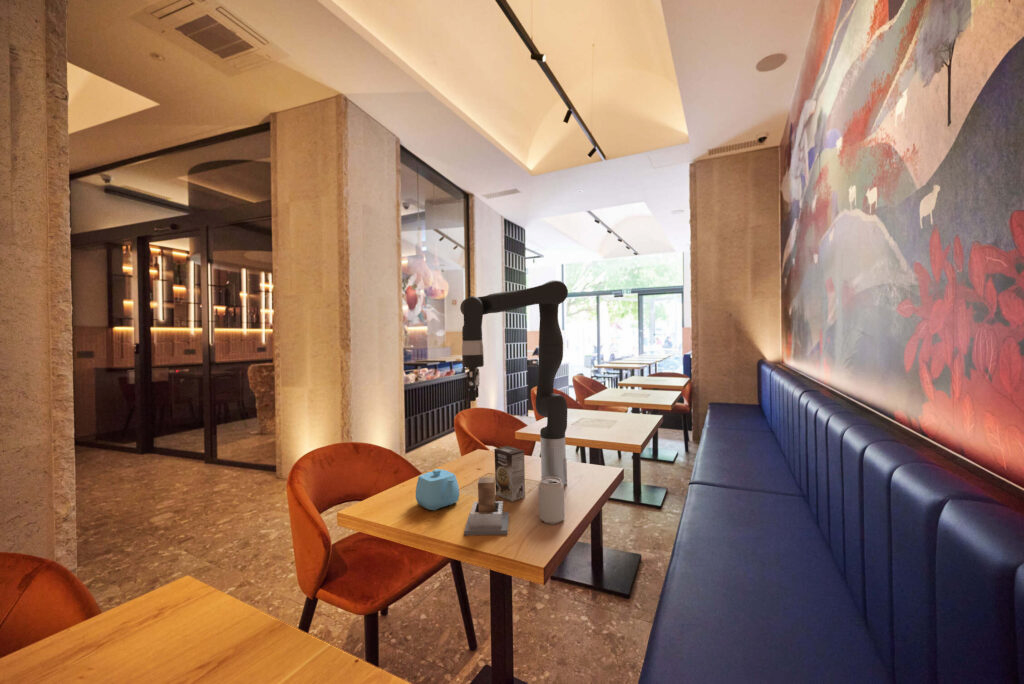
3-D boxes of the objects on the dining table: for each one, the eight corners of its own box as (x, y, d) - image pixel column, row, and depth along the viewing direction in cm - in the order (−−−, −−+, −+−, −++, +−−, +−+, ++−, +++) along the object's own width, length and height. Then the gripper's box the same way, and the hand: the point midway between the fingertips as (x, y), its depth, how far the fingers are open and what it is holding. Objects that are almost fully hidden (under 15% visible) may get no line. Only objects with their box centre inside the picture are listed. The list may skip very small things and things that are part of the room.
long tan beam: (495, 517, 122) (494, 477, 122) (494, 524, 118) (493, 482, 118) (480, 517, 122) (479, 477, 122) (479, 524, 118) (477, 482, 118)
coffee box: (494, 494, 143) (493, 448, 143) (508, 489, 147) (507, 445, 147) (511, 502, 136) (510, 453, 136) (526, 496, 141) (524, 449, 140)
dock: (508, 515, 126) (508, 498, 126) (507, 534, 114) (506, 515, 114) (469, 516, 126) (469, 499, 126) (464, 535, 114) (463, 516, 114)
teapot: (437, 520, 125) (436, 482, 125) (410, 503, 138) (409, 469, 138) (471, 508, 133) (470, 472, 133) (442, 493, 146) (441, 461, 146)
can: (548, 527, 118) (547, 485, 117) (534, 517, 124) (533, 478, 124) (569, 521, 121) (568, 480, 121) (555, 512, 128) (554, 473, 128)
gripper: (481, 354, 138) (482, 402, 139) (485, 352, 153) (486, 396, 153) (459, 354, 139) (460, 402, 139) (465, 353, 153) (466, 396, 153)
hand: (474, 399), depth 146 cm, fingers open, 8 cm apart
